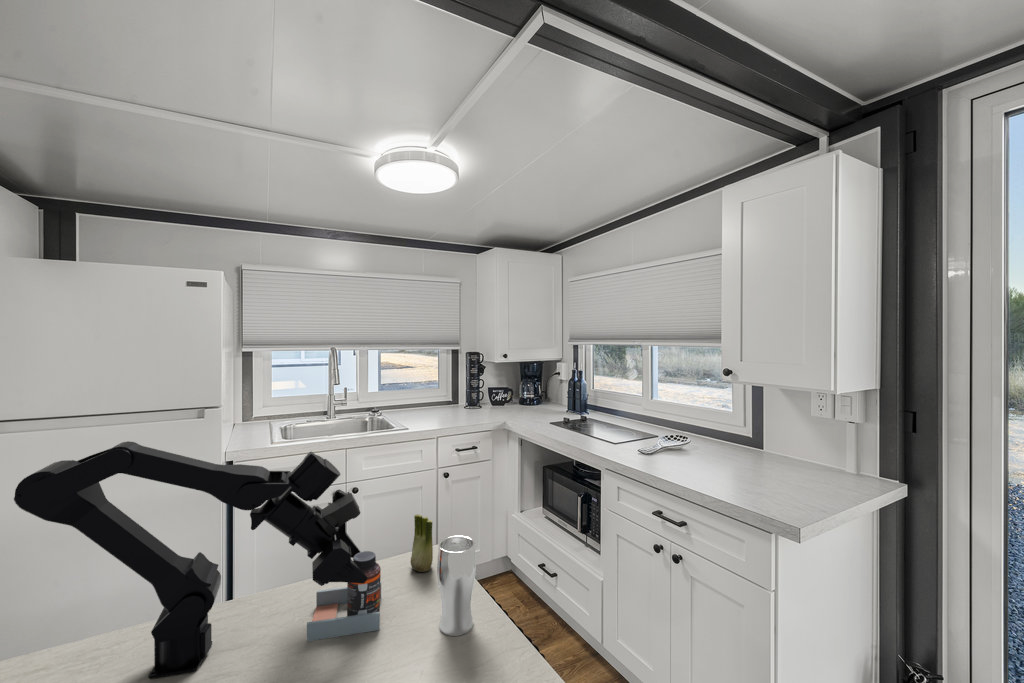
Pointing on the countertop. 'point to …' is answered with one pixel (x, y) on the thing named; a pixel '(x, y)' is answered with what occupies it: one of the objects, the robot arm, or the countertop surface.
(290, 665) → the countertop surface
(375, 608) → the supplement bottle
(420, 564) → the fennel bulb
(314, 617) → the channel
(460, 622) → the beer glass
